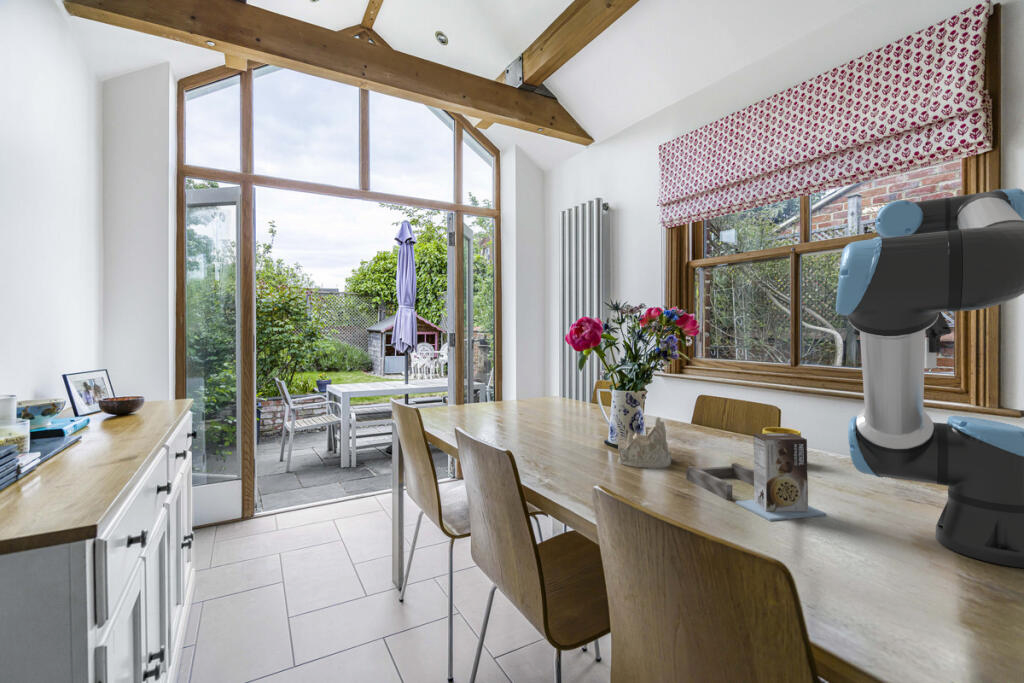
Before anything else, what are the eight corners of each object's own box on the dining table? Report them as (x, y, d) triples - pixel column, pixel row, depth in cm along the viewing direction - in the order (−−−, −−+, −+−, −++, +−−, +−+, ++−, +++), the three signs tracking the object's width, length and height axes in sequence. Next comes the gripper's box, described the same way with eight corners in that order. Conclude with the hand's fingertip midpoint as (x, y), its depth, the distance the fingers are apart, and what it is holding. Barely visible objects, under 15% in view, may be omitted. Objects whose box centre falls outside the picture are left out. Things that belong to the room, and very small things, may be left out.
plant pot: (808, 466, 143) (808, 433, 142) (773, 466, 143) (773, 433, 143) (789, 457, 153) (788, 426, 153) (756, 457, 153) (756, 427, 153)
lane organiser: (781, 494, 118) (781, 480, 118) (726, 499, 115) (726, 485, 115) (734, 474, 135) (734, 462, 135) (686, 478, 132) (686, 465, 132)
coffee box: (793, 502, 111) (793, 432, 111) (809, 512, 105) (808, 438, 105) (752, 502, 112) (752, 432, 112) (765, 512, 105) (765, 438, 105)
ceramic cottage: (676, 457, 154) (672, 410, 154) (665, 472, 140) (661, 421, 140) (628, 455, 162) (624, 410, 162) (613, 469, 148) (609, 420, 147)
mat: (826, 515, 105) (826, 512, 105) (769, 521, 102) (769, 518, 102) (787, 498, 115) (787, 496, 115) (735, 503, 112) (735, 501, 112)
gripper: (973, 265, 98) (973, 369, 98) (861, 279, 122) (862, 362, 123) (944, 264, 96) (944, 370, 97) (837, 279, 121) (837, 363, 121)
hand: (898, 366), depth 110 cm, fingers open, 13 cm apart
